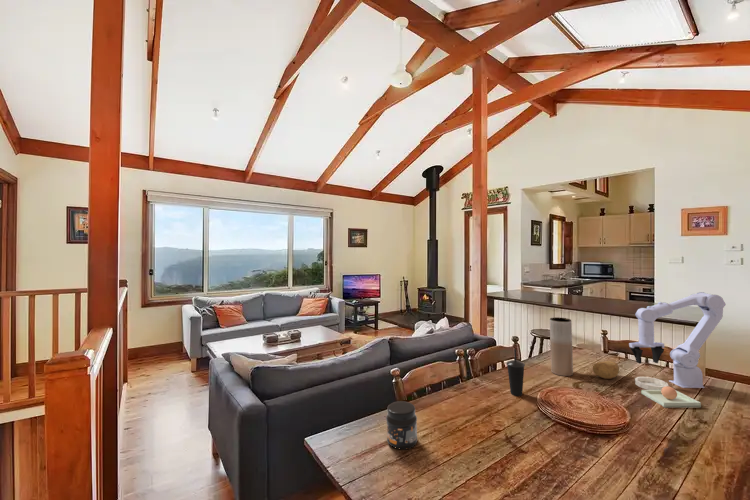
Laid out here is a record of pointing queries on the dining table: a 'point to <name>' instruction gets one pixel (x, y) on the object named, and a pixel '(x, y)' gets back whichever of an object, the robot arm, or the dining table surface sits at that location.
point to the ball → (669, 392)
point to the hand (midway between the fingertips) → (647, 362)
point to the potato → (606, 369)
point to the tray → (671, 400)
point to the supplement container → (401, 425)
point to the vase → (561, 346)
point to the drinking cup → (516, 376)
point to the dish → (650, 383)
